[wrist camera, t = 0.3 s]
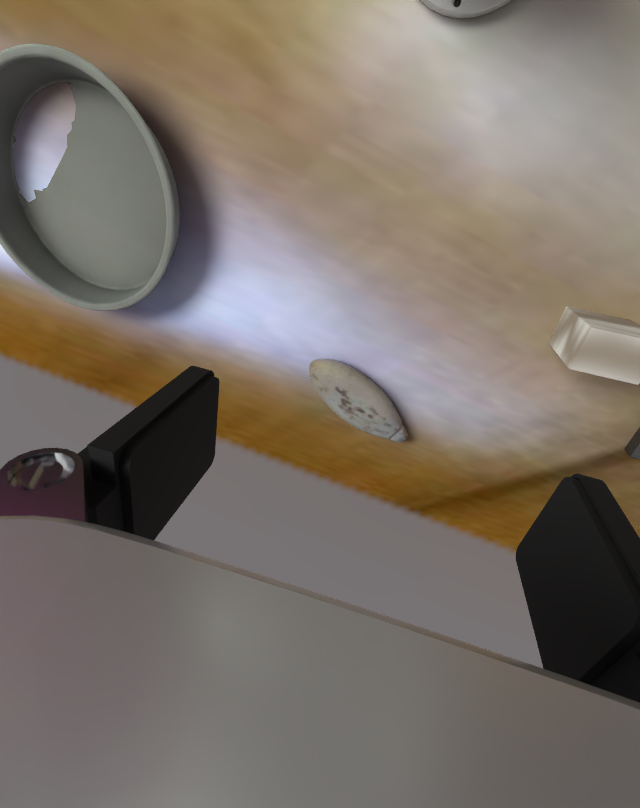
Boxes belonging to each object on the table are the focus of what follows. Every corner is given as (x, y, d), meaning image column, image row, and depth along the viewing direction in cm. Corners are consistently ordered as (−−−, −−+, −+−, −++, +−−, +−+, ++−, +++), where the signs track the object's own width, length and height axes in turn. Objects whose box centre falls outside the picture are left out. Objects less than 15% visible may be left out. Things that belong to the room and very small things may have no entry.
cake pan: (166, 41, 37) (137, 24, 33) (212, 303, 49) (193, 313, 45) (-38, 69, 42) (-84, 58, 38) (47, 300, 54) (18, 309, 50)
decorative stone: (390, 445, 53) (388, 461, 50) (299, 374, 51) (292, 386, 48) (423, 417, 50) (423, 432, 47) (327, 340, 48) (321, 350, 45)
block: (566, 306, 40) (591, 327, 34) (628, 319, 39) (665, 343, 33) (548, 342, 42) (569, 368, 36) (607, 356, 41) (638, 385, 35)
